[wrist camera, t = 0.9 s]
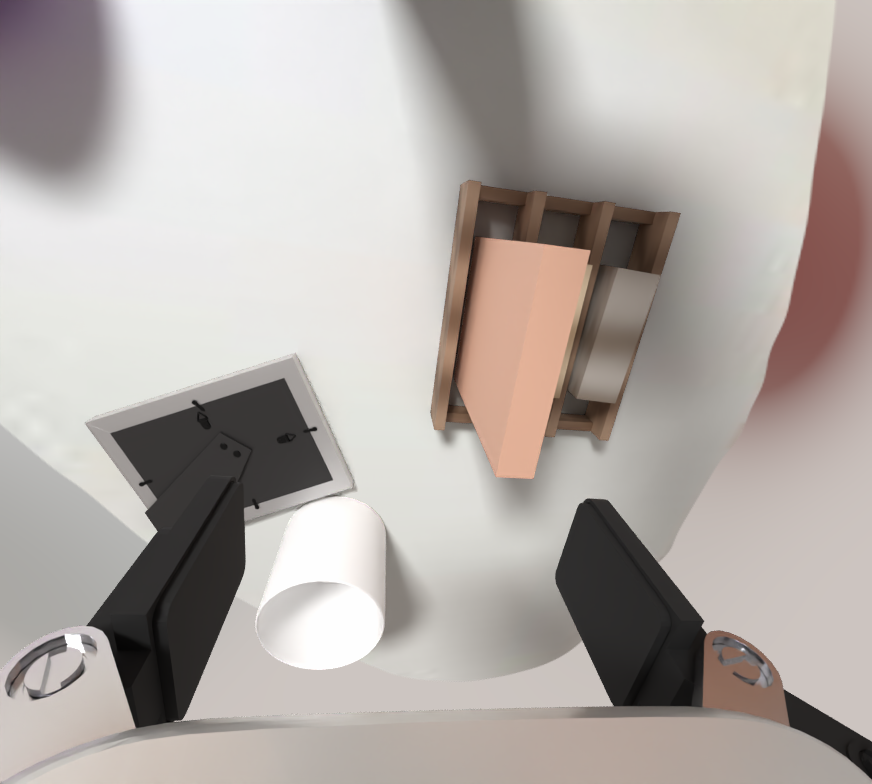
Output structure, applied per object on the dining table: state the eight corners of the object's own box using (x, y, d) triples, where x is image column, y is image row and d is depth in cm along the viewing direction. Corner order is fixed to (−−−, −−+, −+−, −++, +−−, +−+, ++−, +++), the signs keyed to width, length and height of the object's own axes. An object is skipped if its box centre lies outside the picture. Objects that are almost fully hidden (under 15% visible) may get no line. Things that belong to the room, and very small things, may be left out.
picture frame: (182, 530, 46) (354, 476, 46) (169, 549, 44) (352, 491, 44) (98, 413, 40) (297, 350, 40) (78, 426, 38) (290, 359, 37)
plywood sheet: (475, 236, 37) (544, 244, 21) (501, 240, 38) (590, 250, 21) (453, 378, 42) (495, 477, 26) (477, 380, 43) (533, 478, 26)
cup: (282, 495, 45) (247, 582, 34) (387, 494, 47) (386, 577, 36) (289, 574, 50) (260, 674, 39) (385, 571, 51) (383, 666, 40)
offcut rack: (460, 184, 35) (468, 180, 32) (652, 214, 38) (680, 213, 34) (430, 412, 43) (434, 429, 40) (590, 423, 46) (608, 440, 42)
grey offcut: (586, 261, 39) (618, 267, 34) (623, 268, 40) (661, 275, 34) (552, 377, 44) (576, 398, 38) (586, 381, 44) (615, 403, 39)
